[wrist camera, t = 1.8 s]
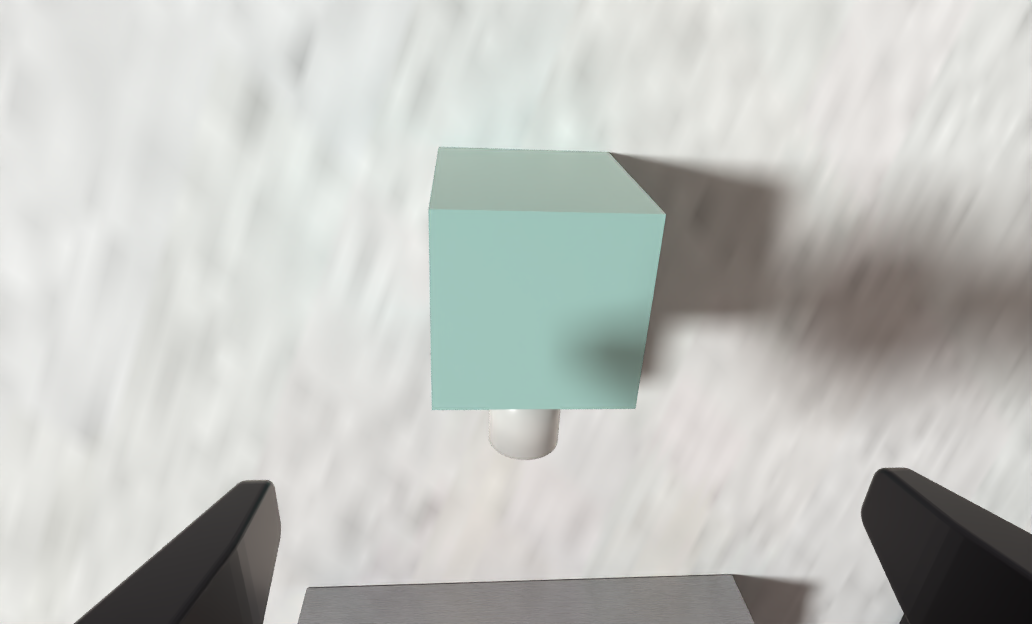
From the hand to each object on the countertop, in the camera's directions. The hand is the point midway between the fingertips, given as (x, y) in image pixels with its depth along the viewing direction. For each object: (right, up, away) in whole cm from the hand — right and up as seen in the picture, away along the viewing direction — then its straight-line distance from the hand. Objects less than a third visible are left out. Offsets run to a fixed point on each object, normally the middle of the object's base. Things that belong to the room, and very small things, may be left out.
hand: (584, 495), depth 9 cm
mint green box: (-1, +4, +11) cm, 12 cm away
